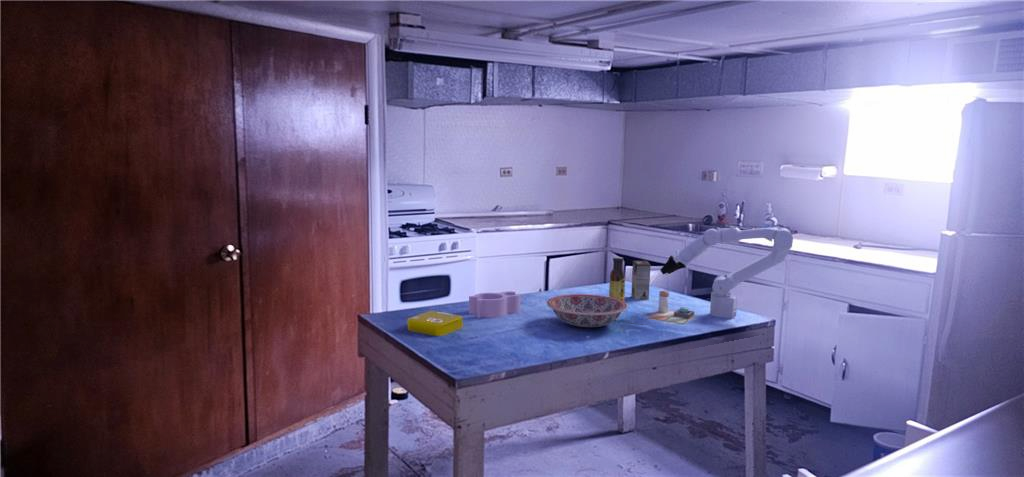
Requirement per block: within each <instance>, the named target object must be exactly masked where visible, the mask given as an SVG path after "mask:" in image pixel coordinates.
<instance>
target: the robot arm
mask: <svg viewBox="0 0 1024 477" xmlns="http://www.w3.org/2000/svg"><path fill="white" fill-rule="evenodd" d="M742 239H744V240H745V239H746V240H747V239H765V240H768V241H769V242H771V243H772V241H773V245H772V248H771V249H772V250H771V252H769V253H768V254H765V255H764V256H762V257H760V258H758V259H756V260H754V261H752V262H749V263H748V264H745V266H743V267H740V268H739V269H737V270H735V271H733V272H730V273H727V274H724V275H722V274H721V275H718V276H716V277H715V278H714V280H713V283H712V288H711V289H712V291H711V292H710V306H709V307H710V310H709V315H710V316H712V317H716V318H724V319H730V320H731V319H734V318H735V317H736V316H737V307H738V297H737V296H733V295H732V293H731V292H730V291H732V290H733V289H734V288H735V287H737V286H738V285H739V284H741V283H743V282H745V281H747V280H750V279H751V278H753V277H756V276H757V275H759V274H761V273H763V272H765V271H767V270H769V269H772V267H775V266H777V265H778V264H781V263H782V262H784V260H785V259H786V257H787V256H788V254H789V252H790V250H791V249H792V247H793V242H794V237H793V234H792V232H791V230H790V229H789V228H787V227H779V228H778V227H774V226H773V227H762V228H761V227H760V228H752V229H743V230H741V229H740V228H738V227H737V226H736V227H734V225H730V226H729V227H725V228H724V227H723V228H720V227H716V229H715V228H708V229H706V230H705V232H704V234H701V235H700V236H699V237H698V238H695V239H694V240H693V241H691V242H690V243H689V244H687V245H686V246H685V247H684V248H682V249H681V250H680V251H679V250H678V249H675V250H674V251H675V253H676V255H675V257H674V256H673V255H670V256H669V258H668V259H667V261H666V262H665V264H664V265H663V266H662V267H661V268H660V272H661V273H662V275H665V274H667V275H670V274H672V273H674V272H677V271H679V270H682V269H686V268H687V266H688V265H689V264H690V263H691V262H692V261H694V260H695V259H697V258H698V257H699V256H700V255H702V254H703V253H705V252H706V251H707V250H708V249H709V248H710V247H712V246H715V245H717V244H735V243H736V244H737V243H739V242H740V241H741V240H742Z"/></svg>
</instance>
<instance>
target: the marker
mask: <svg viewBox="0 0 1024 477" xmlns="http://www.w3.org/2000/svg"><path fill="white" fill-rule="evenodd" d="M658 294H659V296H658V310H659V311H658V310H657V311H658V312H660V313H668V311H669V302H670V301H669V299H670V298H669V296H670V292H669V291H668V290H660V291H659V293H658Z"/></svg>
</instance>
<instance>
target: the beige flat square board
mask: <svg viewBox="0 0 1024 477" xmlns="http://www.w3.org/2000/svg"><path fill="white" fill-rule="evenodd" d="M658 311H659V309H658V310H656V311H655V312H653V313H651V314H650V315H648V316H647V317H645V319H646V320H654V321H660V322H666V323H672V324H679V325H684V326H685V325H686V324H687V323H689V322H690V321H691V320H693V319H695V317H697V316H698V315H697V314H694V316H692V317H691V318H690V319H688V318H682V317H675V316H674V312H675V311H673V310H668V313H660V312H658Z"/></svg>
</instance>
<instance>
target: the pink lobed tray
mask: <svg viewBox="0 0 1024 477" xmlns="http://www.w3.org/2000/svg"><path fill="white" fill-rule="evenodd" d="M521 296H522V294H521V293H517V294H516V291H502V292H481V293H476V294H474V295H470V296H468V314H469V315H476V318H477V319H482V318H484V319H485V318H489V319H492V318H493V319H495V318H501V317H505V316H506V315H508V314H509V315H510V314H517V313H520V312H521V311H522V310H521V301H522V300H521V299H522V298H521Z"/></svg>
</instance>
